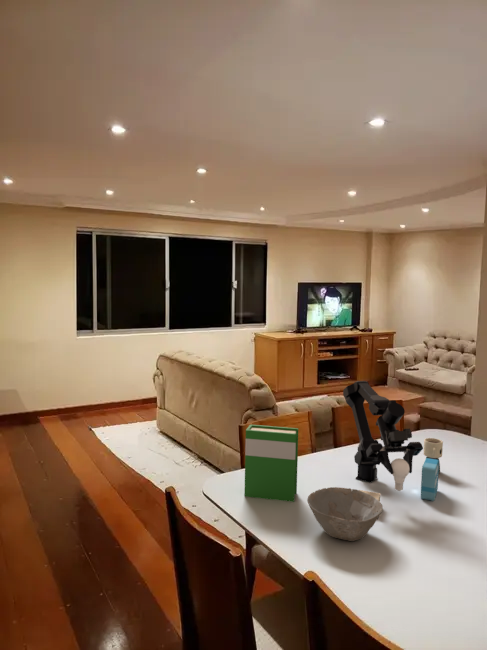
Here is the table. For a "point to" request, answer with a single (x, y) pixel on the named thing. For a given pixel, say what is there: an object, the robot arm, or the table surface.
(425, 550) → the table surface
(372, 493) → the kraft carton
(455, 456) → the table surface
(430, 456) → the character mug
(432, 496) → the data package
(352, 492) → the ceramic bowl
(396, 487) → the lightbulb
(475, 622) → the table surface
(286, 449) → the hardback book
